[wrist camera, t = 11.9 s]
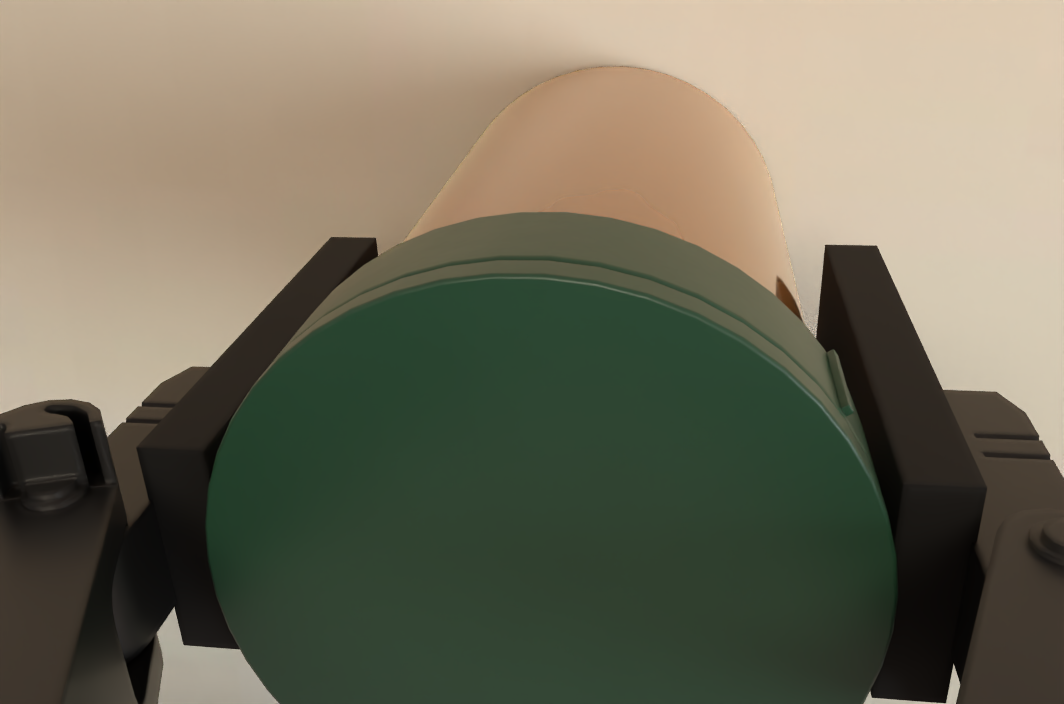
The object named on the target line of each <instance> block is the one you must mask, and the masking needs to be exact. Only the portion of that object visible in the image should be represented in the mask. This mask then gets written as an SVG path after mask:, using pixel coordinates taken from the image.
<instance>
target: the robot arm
mask: <svg viewBox="0 0 1064 704" xmlns="http://www.w3.org/2000/svg"><path fill="white" fill-rule="evenodd" d="M376 257H378V252H377V243H376V238H347V237H331V238H330V239H329V240H328V241H327V242H326V243H325V244H324V245H323V247H322V248H321V249H320V250H319V251H318V252H317V253H316V254H315V255H314V256H313V257H312V258H311V259H310V261H309V262H308V263H307V264H306V265H305V266H304V267H303V268H302V269H301V270H300V271H299V272H298V273H297V275H296V276H295V277H294V278H293V279H292V280H291V281H290V282H289V283H288V284H287V285H286V286H285V287H284V289H283V290H282V291H281V292H280V293H279V294H278V295H277V296H276V297H275V298H274V299H273V300H272V302H271V303H270V304H269V305H268V306H267V307H266V308H265V309H264V310H263V311H262V312H261V313H260V314H259V316H258V317H257V318H256V319H255V320H254V321H253V322H252V323H251V324H250V325H249V326H248V327H247V328H246V330H245V331H244V332H243V333H242V334H241V335H240V336H239V337H238V338H237V339H236V340H235V341H234V342H233V344H232V345H231V346H230V347H229V348H228V349H227V350H226V351H225V352H224V353H223V354H222V355H221V356H220V358H219V359H218V360H217V361H216V362H215V363H214V364H213V365H212V366H211V367H190V368H188V369H187V370H185V371H183V372H181V373H179V374H177V375H175V376H174V377H172V378H170V379H168V380H166V381H164V382H162V383H161V384H160V385H159V386H158V387H157V388H156V389H155V390H154V391H153V392H152V393H151V394H150V395H149V396H148V397H147V398H146V399H145V400H144V401H143V402H142V407H140V406H138V407H137V408H136V409H135V410H134V411H133V412H132V413H131V414H130V415H129V416H128V417H127V418H126V423H123V422H122V423H121V424H120V425H119V426H118V427H117V428H116V429H115V430H114V431H113V432H112V433H111V434H110V435H109V436H108V437H107V435H106V432H105V428H104V424H103V420H102V416H101V412H100V410H99V409H98V408H96V407H95V406H94V405H92V404H91V403H88V402H83V401H78V400H72V399H69V400H48V401H43V402H38V403H34V404H29V405H24V406H21V407H19V408H16V409H13V410H11V411H8V412H5V413H2V414H0V704H158V697H159V691H160V684H161V677H162V670H163V658H162V652H161V648H160V644H159V640H158V636H157V631H158V630H159V628H160V627H161V625H162V624H163V623H164V621H165V620H166V618H167V617H168V615H169V614H170V612H171V611H172V609H173V608H174V607H175V611H176V615H177V619H178V624H179V628H180V632H181V636H182V640H183V644H184V645H189V646H203V647H216V648H229V649H240V648H239V646H238V644H237V643H236V641H235V639H234V637H233V635H232V633H231V632H230V630H229V628H228V625H227V622H226V620H225V617H224V615H223V612H222V609H221V607H220V604H219V602H218V599H217V597H216V593H215V589H214V584H213V580H212V576H211V572H210V567H209V563H208V554H207V542H206V530H205V521H206V508H207V495H208V486H209V482H210V478H211V474H212V470H213V466H214V462H215V458H216V454H217V451H218V449H219V446H220V444H221V442H222V439H223V437H224V435H225V432H226V430H227V428H228V425H229V423H230V421H231V419H232V417H233V416H234V414H235V412H236V411H237V409H238V408H239V406H240V405H241V403H242V402H243V400H244V399H245V397H246V395H247V394H248V392H249V391H250V389H251V388H252V386H253V385H254V384H255V383H256V381H257V380H258V379H259V378H260V376H261V375H262V374H263V373H264V372H265V371H266V369H267V368H268V367H269V365H270V364H271V363H272V362H273V361H274V359H275V358H276V357H277V356H278V354H279V353H280V352H281V351H282V350H283V348H284V347H285V346H286V345H287V343H288V342H289V341H290V340H291V339H292V337H293V336H294V335H295V334H296V332H297V331H298V330H299V329H300V328H301V326H302V325H303V324H304V323H305V321H306V320H307V319H308V318H309V317H310V315H311V314H312V313H313V312H314V311H315V310H316V309H317V308H318V307H319V305H320V304H321V303H322V302H323V301H324V300H325V299H326V298H327V297H328V295H329V294H330V293H331V292H332V291H333V290H334V289H335V288H336V287H337V286H339V285H340V284H341V283H342V282H344V281H345V280H346V279H347V278H348V277H350V276H351V275H352V274H353V273H355V272H356V271H357V270H358V269H359V268H361V267H362V266H363V265H365V264H366V263H368V262H370V261H371V260H373V259H375V258H376ZM816 339H817V341H818V342H819V343H820V344H821V346H822V347H823V348H824V350H825V351H826V352H829V351H831V350H833V349H834V350H835V352H836V353H837V355H838V356H839V360H840V364H841V367H842V371H843V374H844V378H845V381H846V385H847V388H848V390H849V392H850V395H851V397H852V400H853V403H854V405H855V408H856V410H857V413H858V416H859V418H860V421H861V423H862V426H863V430H864V433H865V437H866V440H867V444H868V447H869V450H870V454H871V457H872V461H873V464H874V468H875V471H876V474H877V478H878V481H879V485H880V488H881V492H882V496H883V498H884V502H885V505H886V509H887V512H888V516H889V520H890V525H891V530H892V535H893V540H894V545H895V549H896V554H897V576H898V599H897V606H896V614H895V621H894V628H893V633H892V636H891V640H890V643H889V646H888V649H887V652H886V655H885V659H884V662H883V665H882V668H881V670H880V672H879V674H878V676H877V678H876V680H875V682H874V684H873V686H872V688H871V690H870V691H871V696H872V698H884V699H897V700H910V701H923V702H936V703H946V700H947V695H948V690H949V684H950V679H951V674H952V669H953V664H954V666H955V669H956V672H957V675H958V678H959V681H960V684H961V685H960V689H959V693H958V697H957V702H956V704H1064V478H1063V476H1062V474H1061V473H1060V471H1059V469H1058V468H1057V466H1056V464H1055V462H1054V461H1053V460H1050V454H1049V452H1048V451H1047V449H1046V447H1045V445H1044V444H1043V442H1042V441H1039V435H1038V433H1037V432H1036V430H1035V428H1034V427H1033V425H1032V423H1031V421H1030V420H1029V418H1028V416H1027V415H1026V413H1025V412H1024V411H1022V410H1021V409H1019V408H1018V407H1017V406H1015V405H1014V404H1012V403H1011V402H1010V401H1008V400H1007V399H1006V398H1004V397H1003V396H1001V395H1000V394H999V393H997V392H985V391H956V390H943V389H942V387H941V385H940V383H939V381H938V378H937V376H936V374H935V372H934V370H933V368H932V365H931V363H930V361H929V359H928V357H927V354H926V352H925V350H924V348H923V346H922V343H921V341H920V339H919V337H918V335H917V333H916V330H915V328H914V326H913V324H912V322H911V319H910V317H909V315H908V313H907V311H906V308H905V306H904V304H903V302H902V300H901V298H900V295H899V293H898V291H897V289H896V287H895V284H894V282H893V280H892V278H891V276H890V273H889V271H888V269H887V267H886V265H885V263H884V260H883V258H882V256H881V254H880V252H879V249H878V247H877V246H862V245H825V253H824V264H823V274H822V284H821V294H820V305H819V315H818V325H817V336H816Z"/></svg>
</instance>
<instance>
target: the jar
mask: <svg viewBox="0 0 1064 704" xmlns="http://www.w3.org/2000/svg"><path fill="white" fill-rule="evenodd" d="M517 212H569V213H577V214H585V215H593V216H601V217H610V218H614V219H618V220H622V221H626V222H630V223H634V224H638V225H642V226H646V227H650V228H654V229H657V230H659V231H662V232H664V233H667V234H669V235H672V236H675V237H677V238H680V239H682V240H685V241H687V242H690V243H692V244H695V245H697V246H699V247H701V248H703V249H705V250H707V251H709V252H710V253H712V254H714V255H716V256H718V257H719V258H721V259H723V260H725V261H727V262H729V263H730V264H732V265H734V266H736V267H738V268H739V269H740V270H742V271H743V272H744V273H746V274H747V275H749V276H750V277H751V278H753V279H754V280H755V281H757V282H758V283H759V284H761V285H762V286H764V287H765V288H766V289H768V290H769V291H770V292H772V293H773V294H774V295H775V296H776V297H777V298H778V299H779V300H780V301H781V302H782V303H783V304H785V305H786V306H787V307H788V308H789V309H790V310H791V311H792V312H793V313H794V314H795V315H796V316H797V317H798V318H799V319H800V320H801V321H802V322H803V323H804V324H805V322H804V317H803V313H802V309H801V305H800V300H799V296H798V292H797V287H796V283H795V279H794V275H793V270H792V266H791V262H790V257H789V253H788V249H787V245H786V240H785V236H784V232H783V227H782V223H781V219H780V215H779V210H778V206H777V202H776V197H775V193H774V189H773V184H772V180H771V177H770V175H769V172H768V169H767V167H766V164H765V161H764V159H763V157H762V155H761V153H760V152H759V150H758V148H757V146H756V144H755V142H754V141H753V139H752V138H751V137H750V135H749V134H748V133H747V131H746V130H745V129H744V127H743V126H742V124H741V123H740V122H739V121H738V120H737V119H736V118H735V117H734V116H733V115H732V114H731V113H730V112H729V111H728V110H727V109H726V108H725V107H724V106H722V105H721V104H720V103H718V102H717V101H716V100H715V99H713V98H712V97H711V96H709V95H708V94H706V93H705V92H703V91H701V90H699V89H698V88H696V87H694V86H692V85H691V84H689V83H687V82H684V81H682V80H679V79H677V78H674V77H672V76H669V75H667V74H663V73H659V72H655V71H651V70H647V69H641V68H632V67H623V66H620V67H596V68H590V69H583V70H577V71H574V72H571V73H567V74H564V75H560V76H557V77H555V78H553V79H550V80H548V81H546V82H544V83H541V84H539V85H537V86H535V87H534V88H532V89H531V90H529V91H527V92H526V93H524V94H523V95H521V96H519V97H518V98H517V99H516V100H514V101H513V102H512V103H511V104H510V105H508V106H507V107H506V108H505V109H504V110H502V111H501V113H500V114H499V115H498V116H497V117H496V118H495V119H494V120H493V121H492V122H491V123H490V125H489V126H488V127H487V128H486V130H485V131H484V132H483V134H482V135H481V137H480V138H479V139H478V141H477V142H476V143H475V145H474V146H473V147H472V149H471V150H470V151H469V153H468V154H467V156H466V157H465V158H464V160H463V161H462V162H461V164H460V165H459V166H458V168H457V169H456V171H455V172H454V173H453V175H452V176H451V177H450V179H449V180H448V181H447V183H446V184H445V185H444V187H443V188H442V190H441V191H440V192H439V194H438V195H437V196H436V198H435V199H434V200H433V202H432V203H431V205H430V206H429V207H428V209H427V210H426V211H425V213H424V214H423V215H422V217H421V218H420V219H419V221H418V222H417V224H416V225H415V226H414V228H413V229H412V230H411V232H410V233H409V234H408V236H407V237H406V239H405V240H404V241H403V242H405V241H408V240H410V239H413V238H415V237H417V236H420V235H422V234H424V233H427V232H429V231H432V230H434V229H437V228H441V227H444V226H448V225H452V224H456V223H459V222H463V221H467V220H470V219H474V218H479V217H487V216H494V215H502V214H510V213H517Z"/></svg>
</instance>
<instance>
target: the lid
mask: <svg viewBox="0 0 1064 704" xmlns="http://www.w3.org/2000/svg"><path fill="white" fill-rule="evenodd" d="M205 530H206V542H207V554H208V563H209V567H210V572H211V576H212V580H213V584H214V589H215V593H216V597H217V599H218V602H219V604H220V607H221V609H222V612H223V615H224V617H225V620H226V622H227V625H228V628H229V630H230V632H231V633H232V635H233V637H234V639H235V641H236V643H237V644H238V646H239V648H240V650H241V652H242V654H243V655H244V657H245V659H246V661H247V662H248V664H249V665H250V666H251V668H252V669H253V671H254V672H255V673H256V675H257V676H258V678H259V679H260V680H261V682H262V683H263V685H264V686H265V687H266V689H267V690H268V691H269V692H270V693H271V695H272V696H273V697H274V698H275V699H276V700H277V701H278V702H279V703H280V704H863V703H864V701H865V699H866V697H867V695H868V693H869V692H870V690H871V688H872V686H873V684H874V682H875V680H876V678H877V676H878V674H879V672H880V670H881V668H882V665H883V662H884V659H885V655H886V652H887V649H888V646H889V643H890V640H891V636H892V633H893V628H894V621H895V614H896V606H897V599H898V576H897V554H896V549H895V545H894V540H893V535H892V530H891V525H890V520H889V516H888V512H887V509H886V505H885V502H884V498H883V496H882V492H881V488H880V485H879V481H878V478H877V474H876V471H875V468H874V464H873V461H872V457H871V454H870V450H869V447H868V444H867V440H866V437H865V433H864V430H863V426H862V423H861V421H860V418H859V416H858V413H857V410H856V408H855V405H854V403H853V400H852V397H851V395H850V392H849V390H848V388H847V385H846V381H845V378H844V374H843V371H842V367H841V364H840V360H839V356H838V355H837V353H836V352H835V350H834V349H833V350H831V351H829V352H826V351H825V350H824V348H823V347H822V346H821V344H820V343H819V342H818V341H817V339H816V338H815V337H814V336H813V334H812V333H811V332H810V330H809V329H808V328H807V327H806V325H805V324H804V323H803V322H802V321H801V320H800V319H799V318H798V317H797V316H796V315H795V314H794V313H793V312H792V311H791V310H790V309H789V308H788V307H787V306H786V305H785V304H783V303H782V302H781V301H780V300H779V299H778V298H777V297H776V296H775V295H774V294H773V293H772V292H770V291H769V290H768V289H766V288H765V287H764V286H762V285H761V284H759V283H758V282H757V281H755V280H754V279H753V278H751V277H750V276H749V275H747V274H746V273H744V272H743V271H742V270H740V269H739V268H738V267H736V266H734V265H732V264H730V263H729V262H727V261H725V260H723V259H721V258H719V257H718V256H716V255H714V254H712V253H710V252H709V251H707V250H705V249H703V248H701V247H699V246H697V245H695V244H692V243H690V242H687V241H685V240H682V239H680V238H677V237H675V236H672V235H669V234H667V233H664V232H662V231H659V230H657V229H654V228H650V227H646V226H642V225H638V224H634V223H630V222H626V221H622V220H618V219H614V218H610V217H601V216H593V215H585V214H577V213H569V212H517V213H510V214H502V215H494V216H487V217H479V218H474V219H470V220H467V221H463V222H459V223H456V224H452V225H448V226H444V227H441V228H437V229H434V230H432V231H429V232H427V233H424V234H422V235H420V236H417V237H415V238H413V239H410V240H408V241H405V242H403V243H401V244H398V245H396V246H395V247H393V248H391V249H390V250H388V251H386V252H385V253H383V254H381V255H380V256H378V257H376V258H375V259H373V260H371V261H370V262H368V263H366V264H365V265H363V266H362V267H361V268H359V269H358V270H357V271H356V272H355V273H353V274H352V275H351V276H350V277H348V278H347V279H346V280H345V281H344V282H342V283H341V284H340V285H339V286H337V287H336V288H335V289H334V290H333V291H332V292H331V293H330V294H329V295H328V297H327V298H326V299H325V300H324V301H323V302H322V303H321V304H320V305H319V307H318V308H317V309H316V310H315V311H314V312H313V313H312V314H311V315H310V317H309V318H308V319H307V320H306V321H305V323H304V324H303V325H302V326H301V328H300V329H299V330H298V331H297V332H296V334H295V335H294V336H293V337H292V339H291V340H290V341H289V342H288V343H287V345H286V346H285V347H284V348H283V350H282V351H281V352H280V353H279V354H278V356H277V357H276V358H275V359H274V361H273V362H272V363H271V364H270V365H269V367H268V368H267V369H266V371H265V372H264V373H263V374H262V375H261V376H260V378H259V379H258V380H257V381H256V383H255V384H254V385H253V386H252V388H251V389H250V391H249V392H248V394H247V395H246V397H245V399H244V400H243V402H242V403H241V405H240V406H239V408H238V409H237V411H236V412H235V414H234V416H233V417H232V419H231V421H230V423H229V425H228V428H227V430H226V432H225V435H224V437H223V439H222V442H221V444H220V446H219V449H218V451H217V454H216V458H215V462H214V466H213V470H212V474H211V478H210V482H209V486H208V495H207V508H206V521H205Z"/></svg>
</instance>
